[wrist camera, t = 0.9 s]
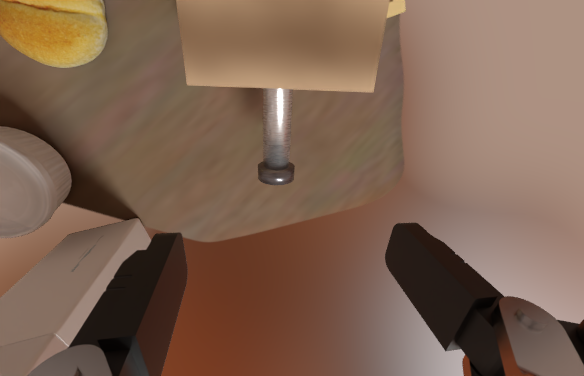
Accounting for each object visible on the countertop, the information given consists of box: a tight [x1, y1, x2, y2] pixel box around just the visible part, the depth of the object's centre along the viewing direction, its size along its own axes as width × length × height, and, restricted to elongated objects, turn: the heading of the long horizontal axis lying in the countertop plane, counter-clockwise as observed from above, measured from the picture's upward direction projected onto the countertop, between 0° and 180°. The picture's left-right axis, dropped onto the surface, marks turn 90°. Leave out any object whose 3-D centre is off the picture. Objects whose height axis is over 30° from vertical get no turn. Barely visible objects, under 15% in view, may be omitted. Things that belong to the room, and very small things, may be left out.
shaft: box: [258, 88, 294, 185], centre depth 19 cm, size 19×3×3 cm, turn 177°
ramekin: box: [0, 126, 72, 238], centre depth 24 cm, size 11×11×5 cm
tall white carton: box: [0, 218, 151, 376], centre depth 22 cm, size 9×9×25 cm
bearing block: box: [176, 0, 390, 92], centre depth 20 cm, size 6×12×13 cm, turn 87°
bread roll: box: [0, 0, 108, 68], centre depth 20 cm, size 8×9×4 cm
